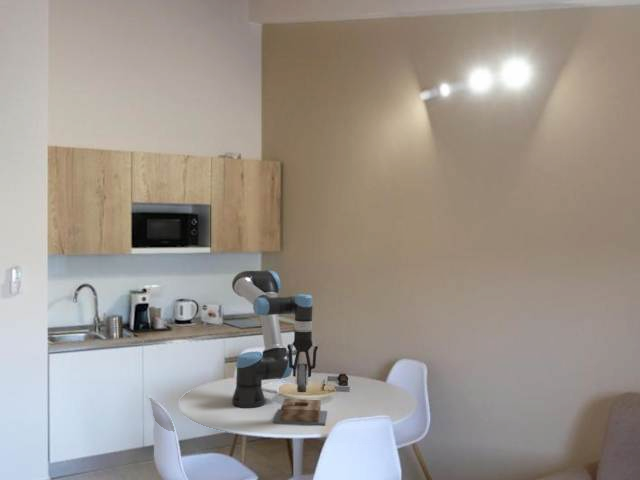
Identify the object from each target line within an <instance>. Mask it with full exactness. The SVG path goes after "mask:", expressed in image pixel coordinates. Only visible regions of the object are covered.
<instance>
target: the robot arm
mask: <svg viewBox="0 0 640 480" xmlns="http://www.w3.org/2000/svg"><path fill="white" fill-rule="evenodd" d="M231 287H232V291H233V293H235V294H236V295H237V296H238V297H243V299H245V300H246V301H247V302H249V303H250V304H251V305H252V306H253V307H252V308H253V312H254V314H255V315H257V316H259V318H260V323H261V324H260V325H261V330H262V337H263V344H264V349H263V350H262V351H247V352H244V353H240V354H239V355H238V356H237V358H236V364H235V365H236V377H235V378H236V380H235V381H236V383H235V385H236V386H235V390H234V392H233V395H232V399H231V404H232V405H233V406H235V407H239V408H245V409H246V408H248V409H249V408H250V409H252V408H258V407H259V408H260V407H262V406H264V405H265V403H266V398H265V394H264V391H262V387H261V385H262V384H263V383H262V381H268V380H282V379H285V378H286V379H287V378H289V377H290V376H291V374H292V376H293V377H295V382H294V383H295V385H297V375H298V363H299V357H300V353H305V358H306V363H307V370H306V386H309V378H311V376H312V370H314V369H315V368H316V365H317V364H316V363H317V362H316V361H317V351H318V348H319V345H318V344H315V343H313V341H312V338H313V337H312V335H313V332H312V329H313V305H314V303H313V295H311V294H303V293H300V294H296V295H288V296H282V297H281V296H278V294H279V293H280V292H281V280H280V277H279V275H278V273H277V272H275V271H273V270H266V269H264V270H244V271H241V272H238V273H237V274H236V275H235V276H234V277H233V279H232V282H231ZM291 314H292V315H294V327H293V328H294V333H293V334H294V337H293V339H294V340H293V341H292V342H293V343H292V342H291V343H288V344H287V345H286V346H287V347H285V346H284V345H283V340H282V338H283V337H282V333H281V325H280V322H279V321H280V319H279V315H291ZM293 348H295V350H296V353H295V358H293ZM311 348H312V350H313V351H312V353H313V354H312V364H311V357H310V351H309V350H310V349H311Z"/></svg>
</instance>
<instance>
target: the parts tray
mask: <svg viewBox="0 0 640 480" xmlns="http://www.w3.org/2000/svg"><path fill="white" fill-rule="evenodd" d="M338 376H339V375H325V379H324V384H327V385H328V382H339V381H338V379H337V378H338ZM347 377H348V380H347V382H348V386H340V385H331V386H334V387H335V389H336V391H335V392H351V391H350V390H351V389H350V387H351V376H349V375H347ZM324 384H323V385H324Z"/></svg>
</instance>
